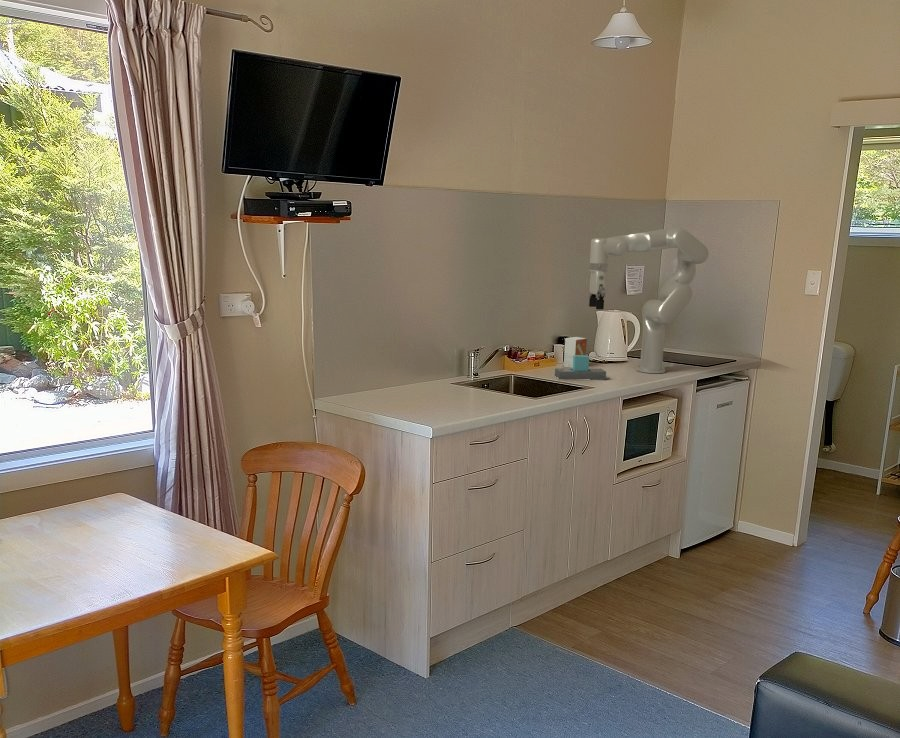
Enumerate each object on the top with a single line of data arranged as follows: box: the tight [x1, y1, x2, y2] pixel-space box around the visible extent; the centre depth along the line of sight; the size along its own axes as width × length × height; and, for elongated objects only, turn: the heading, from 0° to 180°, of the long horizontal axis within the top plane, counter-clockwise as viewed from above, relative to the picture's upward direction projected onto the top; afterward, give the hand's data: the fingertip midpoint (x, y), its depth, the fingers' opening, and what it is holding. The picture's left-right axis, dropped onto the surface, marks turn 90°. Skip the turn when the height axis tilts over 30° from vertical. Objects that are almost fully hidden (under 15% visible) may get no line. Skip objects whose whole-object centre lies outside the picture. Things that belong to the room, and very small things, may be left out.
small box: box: [563, 336, 588, 368], centre depth 362 cm, size 8×6×13 cm
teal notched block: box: [572, 354, 590, 371], centre depth 336 cm, size 6×3×9 cm, turn 97°
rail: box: [554, 367, 607, 381], centre depth 336 cm, size 20×7×4 cm, turn 97°
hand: (596, 307), depth 345 cm, fingers open, 9 cm apart
